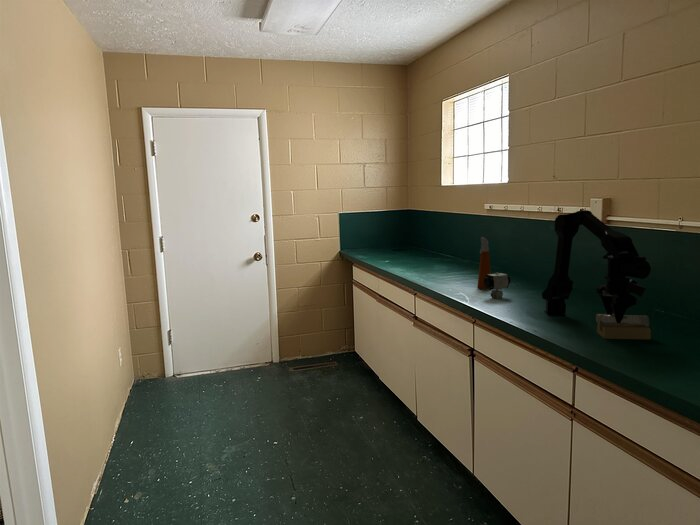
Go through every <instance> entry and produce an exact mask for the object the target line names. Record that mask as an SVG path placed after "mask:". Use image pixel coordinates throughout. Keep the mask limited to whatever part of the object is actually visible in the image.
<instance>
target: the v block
mask: <svg viewBox="0 0 700 525" xmlns="http://www.w3.org/2000/svg"><path fill="white" fill-rule="evenodd" d="M596 327H597V328H596V333H597V334H598V335H600V336H601V337H602V338H603V339H604V340H605V339H608V340H609V339H610V340H611V339H612V340H616V339H617V340H651V336H652V335H651V331H652V329H651V328H650V327H649V326H648V327H610V326H602V327H601V326H600V323H597V326H596Z"/></svg>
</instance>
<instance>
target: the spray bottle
mask: <svg viewBox="0 0 700 525" xmlns="http://www.w3.org/2000/svg"><path fill="white" fill-rule="evenodd" d="M480 243H481V245H480V250H479V254H480V261H479V268H478V269H479V270H478V278H477V286H476V287H477V289H478V288H479V289H478V290H482V289H488V288H486V287H485V285H484V279H485V278H486V275H488V274H492V273H491V272H492V271H491V262H490V261H491V260H490V247H489V243H490V242H489V241H488V238H486V237H484V236H482V237H480Z"/></svg>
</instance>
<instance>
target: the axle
mask: <svg viewBox="0 0 700 525" xmlns="http://www.w3.org/2000/svg"><path fill="white" fill-rule="evenodd" d="M599 323H600V326H601V327H602V326H610V327H649V326H650V318H649V316H648V315H646V314H645V315H643V314H642V315H641V314H640V315H637V314H633V315H632V314H624V316H623V318H622V321H621V323H617V322H616V319H615V316H614V315H600V317H599Z"/></svg>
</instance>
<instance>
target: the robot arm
mask: <svg viewBox="0 0 700 525" xmlns="http://www.w3.org/2000/svg"><path fill="white" fill-rule="evenodd" d="M581 225H582V226H583V227H585V228H586V229H587V230H588V231H589V232H590V233H592V234H593V235H594V236H595V237H596V238H597V239H599V240H600V244H601V247H602V248H604V250H605V251H606V252H607V253H606V254H605V255H603V256H602V259H603V260H604V259H605V260H607V264H606V265H607V266H606V267H607V268H606V275H604V279H605V280H606V284H598V286H597V287H596V290H595V292H596V294H598V297H599V300H600V301H601V304H602V306H603V308H604V310H605V314H607V315H612V314H614V316H615V319H616V322H617V323H621V321H622V318H623V316H624V315H626V314H625V313H626V311H627V310H628V309H629V308H630V307H633V306H637V304H638V303H637V302H638V298H636V296H638V297H643V296H644V293H645V292H646V289H647V288H646V287H645V286H643V285H640V284H638V282H637V280H634V279H632V278H635V279H641V280H645V279H646V278H648V276H649V275H650V273H651V270H652V267H651V265H650V263H649V262H648V261H647V258H646V256H640V254H639V252H638V250H637V248H636V247H635V245H634V243H633V240H632V238H631V237H630V236H629V235H626V234H625V233H623V232H621V231H618V230H617V231H616V230H613V229H612V228H611V227H610V226H608V225H607V224H606V223H604V222H603V220H601V219H599V218H598V217H597V216H595V215H594V213H592V211H590V210H587V209H586V210H577V211H575V212H572V213H571V212H570V213H568V214H558V215H557V216H556V217H555V218H554V232H555V233H556V236H557V244H556V246H557V247H556V253H555V262H554V270H553V271H554V272H553V274H552V275H551V276H550V278H549V280H548V282H547V286H546V288H545V289H544V290H543V291H542V292H541V298H542V300H545V310H544V313H545V315H546V316H548V317H566V314H567V312H566V310H567V304H566V301H565V300H569V298H570V295H571V293H572V291H573V286H574V285H573V284H574V280H572V279H571V278H570V277H569V271H570V270H569V268H570V262H571V253H572V244H573V239H574V237H575V236H576V234H577V233H578V231H579V228H580V226H581ZM630 277H631V278H630ZM632 294H635V295H636V296H634V295H632Z"/></svg>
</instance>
